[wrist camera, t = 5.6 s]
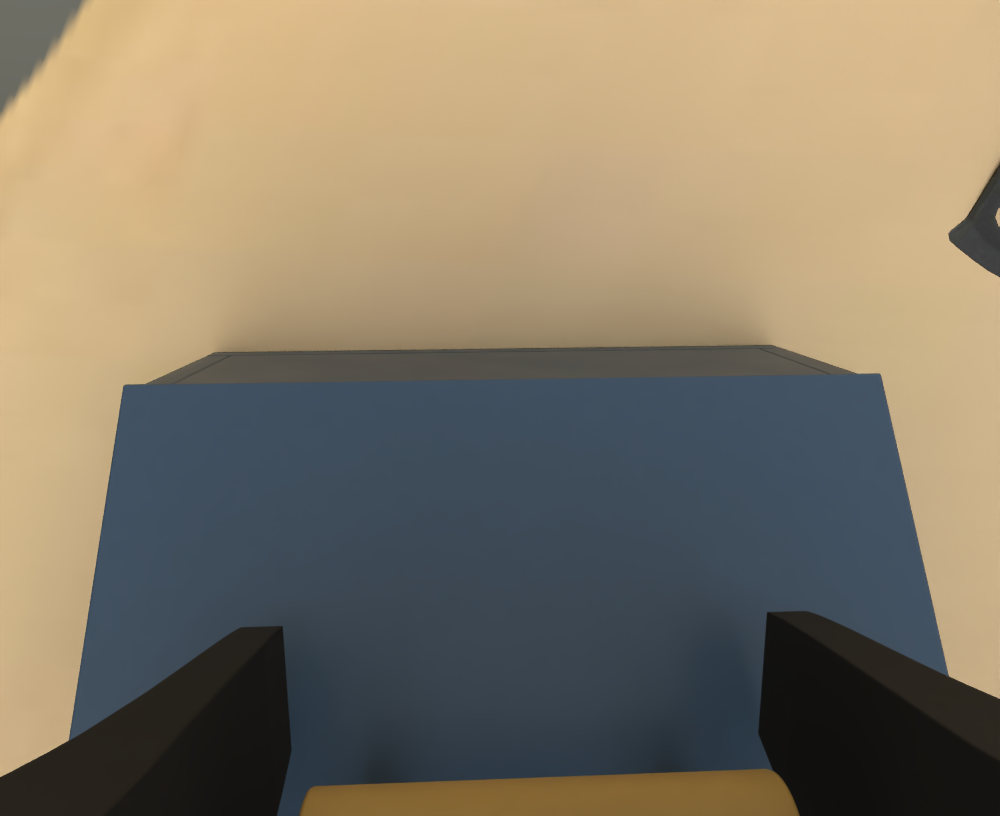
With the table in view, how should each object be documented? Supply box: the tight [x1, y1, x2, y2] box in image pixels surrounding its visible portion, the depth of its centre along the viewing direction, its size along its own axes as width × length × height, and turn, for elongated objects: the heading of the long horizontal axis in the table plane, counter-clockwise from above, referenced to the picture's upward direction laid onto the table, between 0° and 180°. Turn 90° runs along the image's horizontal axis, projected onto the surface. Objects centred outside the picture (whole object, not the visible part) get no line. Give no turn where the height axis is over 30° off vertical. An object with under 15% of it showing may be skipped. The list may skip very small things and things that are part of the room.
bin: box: [147, 345, 857, 384], centre depth 19 cm, size 13×14×5 cm
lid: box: [69, 374, 949, 816], centre depth 10 cm, size 14×14×5 cm
